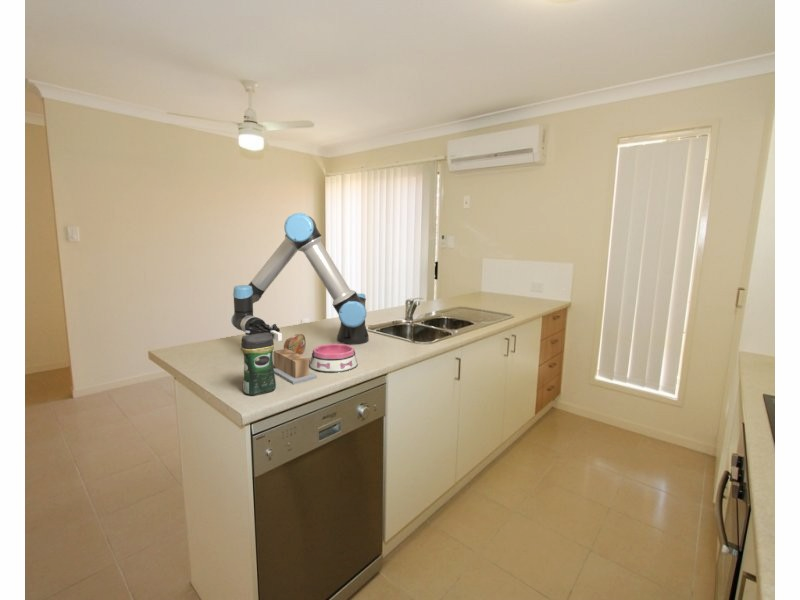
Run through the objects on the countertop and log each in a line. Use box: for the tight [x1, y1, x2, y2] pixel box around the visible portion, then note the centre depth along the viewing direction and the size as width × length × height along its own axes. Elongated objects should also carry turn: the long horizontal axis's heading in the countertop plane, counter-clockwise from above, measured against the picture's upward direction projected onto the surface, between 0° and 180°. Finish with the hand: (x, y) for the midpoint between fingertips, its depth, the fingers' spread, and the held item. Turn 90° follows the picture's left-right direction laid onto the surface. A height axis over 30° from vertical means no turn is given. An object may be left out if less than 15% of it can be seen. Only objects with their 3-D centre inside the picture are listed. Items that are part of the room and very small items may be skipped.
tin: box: [283, 333, 306, 355], centre depth 158 cm, size 15×3×8 cm, turn 168°
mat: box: [273, 367, 318, 385], centre depth 136 cm, size 9×16×1 cm, turn 44°
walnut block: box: [273, 348, 310, 379], centre depth 137 cm, size 5×6×16 cm
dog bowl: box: [309, 343, 359, 374], centre depth 148 cm, size 18×19×7 cm
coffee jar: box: [240, 333, 277, 396], centre depth 120 cm, size 10×8×19 cm
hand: (279, 337), depth 141 cm, fingers closed
